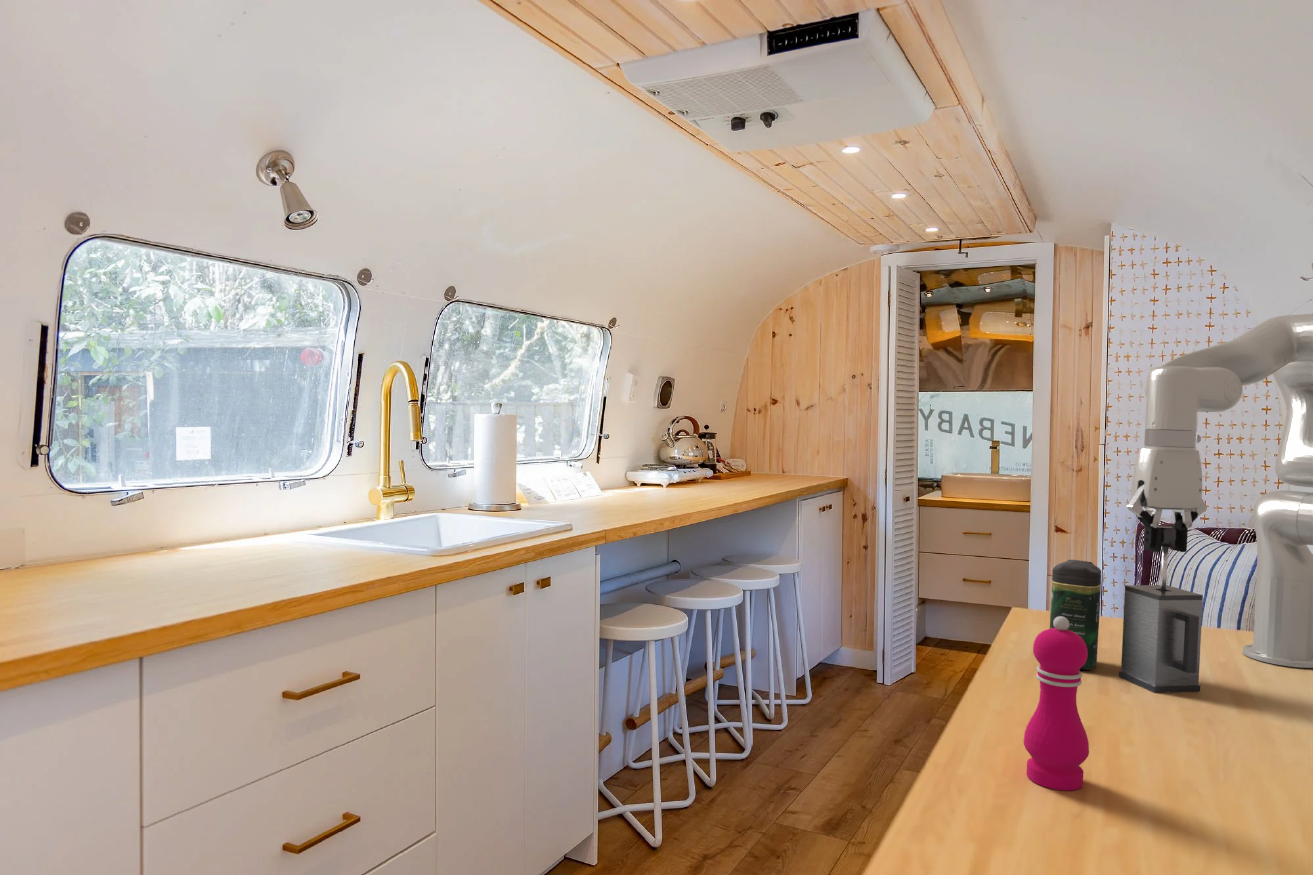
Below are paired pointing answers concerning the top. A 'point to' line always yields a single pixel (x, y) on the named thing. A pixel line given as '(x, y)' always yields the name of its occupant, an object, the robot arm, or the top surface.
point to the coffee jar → (1078, 602)
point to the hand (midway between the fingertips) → (1165, 549)
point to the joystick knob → (1166, 550)
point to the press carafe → (1161, 638)
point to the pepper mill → (1057, 711)
